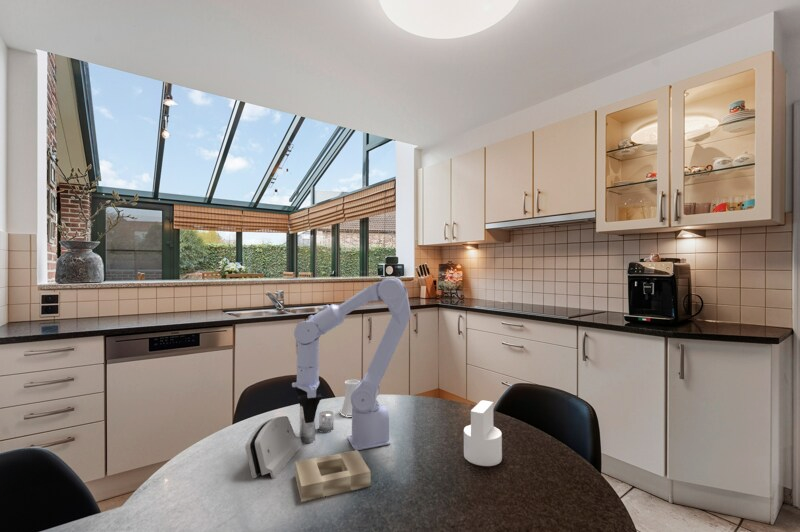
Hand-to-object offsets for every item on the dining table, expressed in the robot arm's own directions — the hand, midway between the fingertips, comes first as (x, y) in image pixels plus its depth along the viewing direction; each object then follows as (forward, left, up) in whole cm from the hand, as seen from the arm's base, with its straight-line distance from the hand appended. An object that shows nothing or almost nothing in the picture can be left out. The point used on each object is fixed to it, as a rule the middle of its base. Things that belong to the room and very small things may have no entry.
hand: (307, 416), depth 96 cm
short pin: (-6, -5, -6) cm, 10 cm away
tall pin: (0, 0, -6) cm, 6 cm away
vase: (-16, -14, -6) cm, 22 cm away
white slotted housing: (+9, +7, -7) cm, 13 cm away
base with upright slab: (-38, +25, -6) cm, 46 cm away
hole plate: (-2, +22, -6) cm, 23 cm away
